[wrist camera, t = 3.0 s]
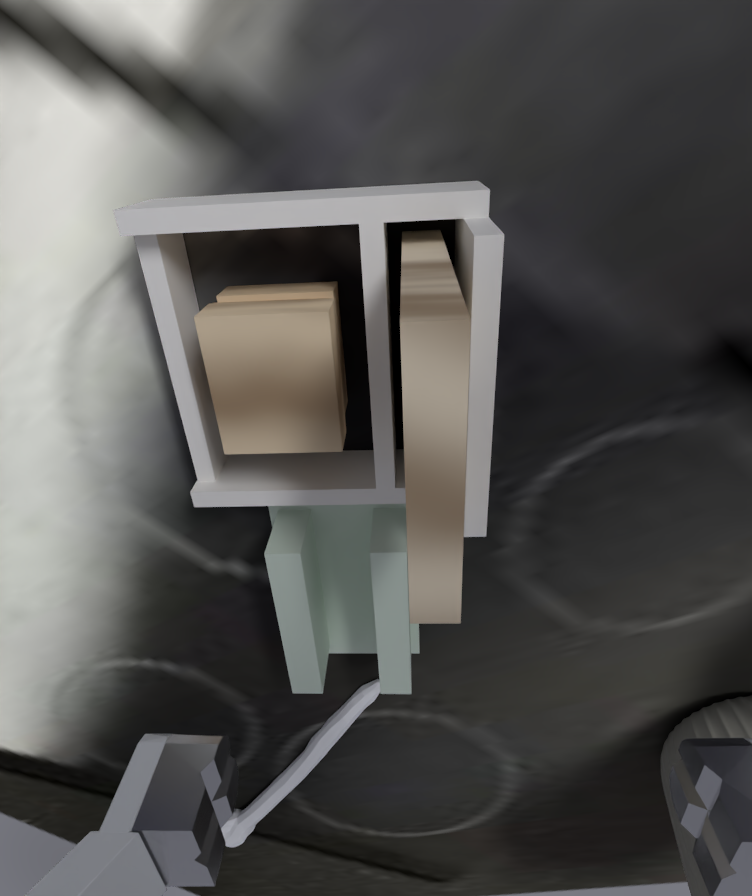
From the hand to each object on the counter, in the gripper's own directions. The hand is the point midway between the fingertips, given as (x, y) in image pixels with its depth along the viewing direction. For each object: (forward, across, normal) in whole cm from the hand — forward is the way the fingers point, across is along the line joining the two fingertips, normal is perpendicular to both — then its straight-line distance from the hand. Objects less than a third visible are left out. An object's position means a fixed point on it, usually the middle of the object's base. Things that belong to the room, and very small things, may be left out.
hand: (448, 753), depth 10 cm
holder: (+22, +5, +16) cm, 27 cm away
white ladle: (+23, +12, +38) cm, 46 cm away
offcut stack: (+22, +7, 0) cm, 23 cm away
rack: (+22, +5, 0) cm, 22 cm away
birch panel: (+22, 0, 0) cm, 22 cm away
